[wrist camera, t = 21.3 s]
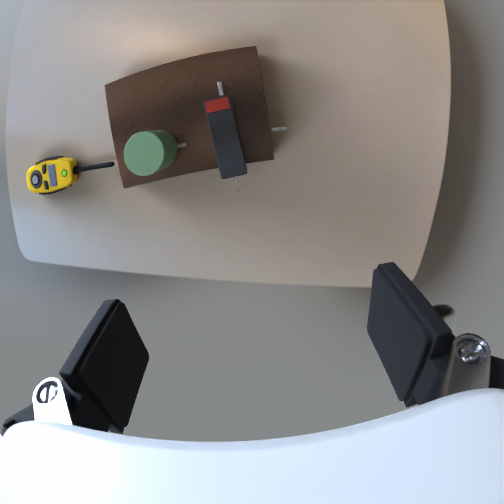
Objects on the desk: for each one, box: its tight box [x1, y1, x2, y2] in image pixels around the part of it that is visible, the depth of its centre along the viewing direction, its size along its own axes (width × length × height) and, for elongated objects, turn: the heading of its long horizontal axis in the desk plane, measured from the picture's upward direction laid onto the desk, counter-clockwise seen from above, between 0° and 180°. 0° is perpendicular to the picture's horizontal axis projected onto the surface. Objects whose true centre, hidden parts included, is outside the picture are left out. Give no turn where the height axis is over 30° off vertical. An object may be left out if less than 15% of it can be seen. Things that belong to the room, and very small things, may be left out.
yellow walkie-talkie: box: [27, 156, 114, 194], centre depth 27 cm, size 5×2×15 cm
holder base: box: [105, 46, 287, 191], centre depth 25 cm, size 15×18×3 cm
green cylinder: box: [124, 130, 178, 176], centre depth 23 cm, size 4×4×4 cm
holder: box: [203, 95, 247, 179], centre depth 23 cm, size 7×2×4 cm, turn 12°
